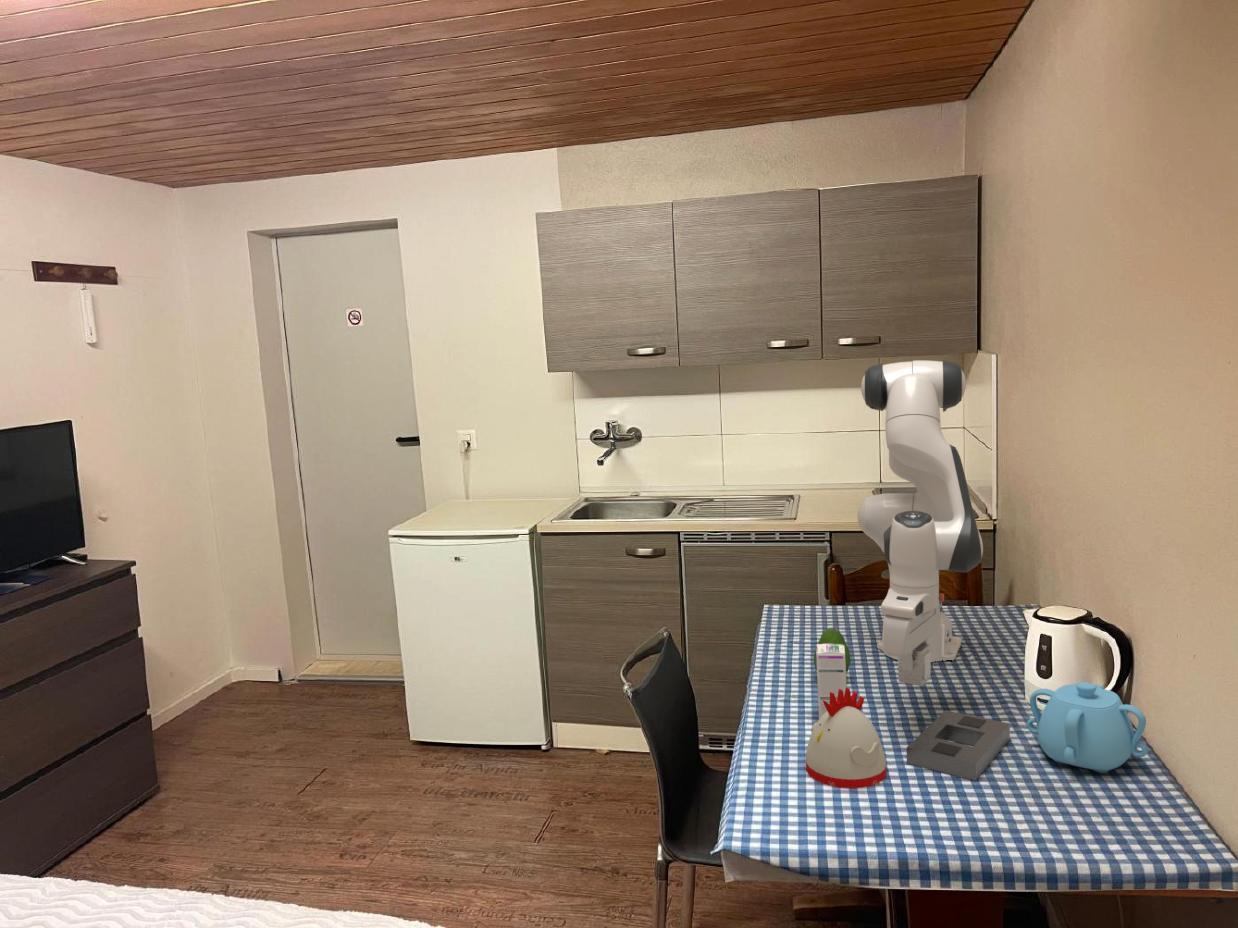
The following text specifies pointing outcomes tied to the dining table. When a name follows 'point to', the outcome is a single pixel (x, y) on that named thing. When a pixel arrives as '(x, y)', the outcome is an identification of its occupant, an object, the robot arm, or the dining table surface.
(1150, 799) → the dining table surface
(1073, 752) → the decorative pot
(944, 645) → the robot arm
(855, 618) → the dining table surface
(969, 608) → the dining table surface
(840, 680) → the syrup box
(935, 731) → the grey flat block
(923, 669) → the stepped metal block
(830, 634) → the avocado
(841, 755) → the kitchen timer
